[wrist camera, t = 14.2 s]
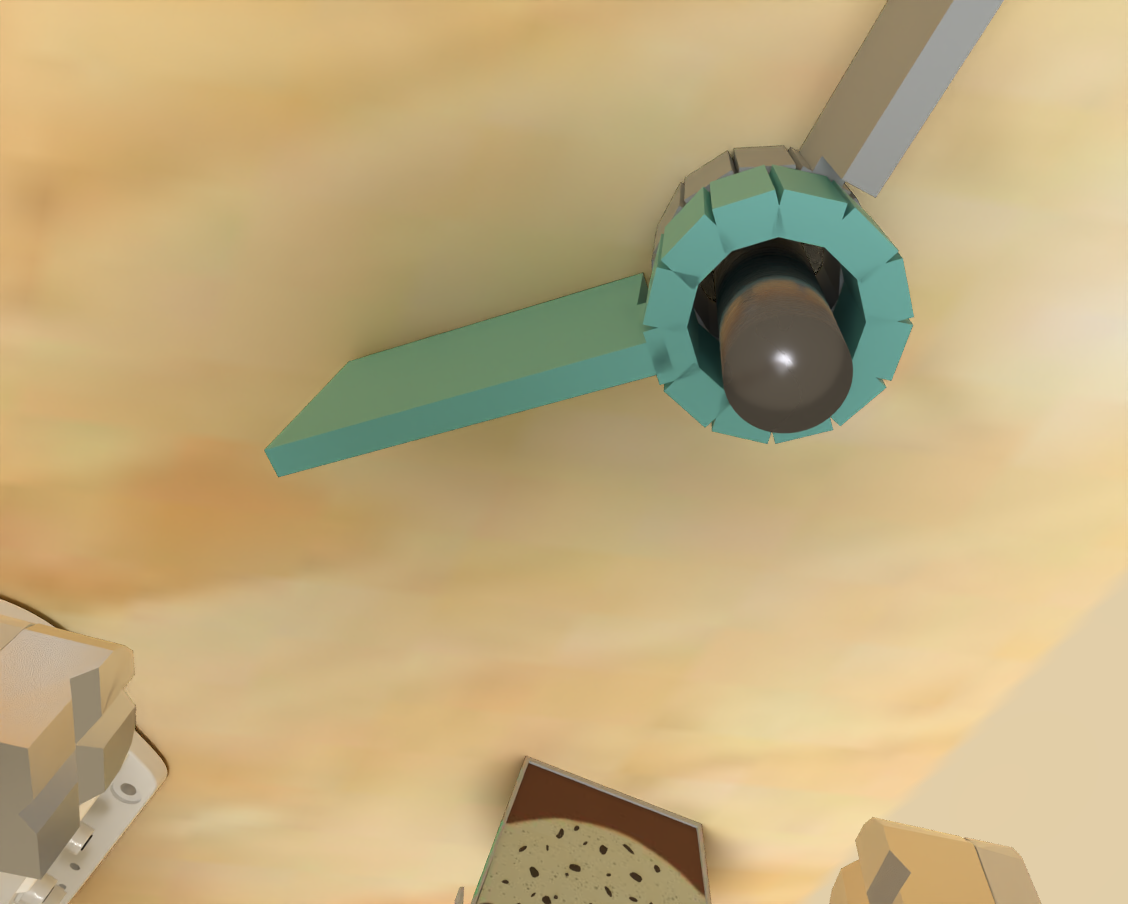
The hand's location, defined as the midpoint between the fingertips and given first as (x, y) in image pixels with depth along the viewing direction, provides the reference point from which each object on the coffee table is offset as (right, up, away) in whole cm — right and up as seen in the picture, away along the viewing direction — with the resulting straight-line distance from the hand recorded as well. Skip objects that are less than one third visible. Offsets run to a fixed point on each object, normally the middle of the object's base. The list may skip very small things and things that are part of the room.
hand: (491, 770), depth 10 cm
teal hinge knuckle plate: (+2, +9, +23) cm, 25 cm away
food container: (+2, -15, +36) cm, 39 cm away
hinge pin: (+8, +11, +22) cm, 26 cm away
